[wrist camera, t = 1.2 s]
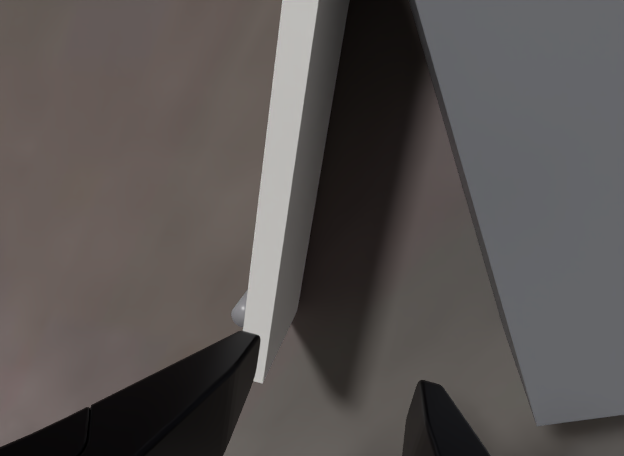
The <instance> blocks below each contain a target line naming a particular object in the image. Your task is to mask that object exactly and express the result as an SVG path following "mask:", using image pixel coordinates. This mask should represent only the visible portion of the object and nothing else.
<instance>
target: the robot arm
mask: <svg viewBox="0 0 624 456" xmlns="http://www.w3.org/2000/svg"><path fill="white" fill-rule="evenodd" d="M260 342H261V339H260V336H259V335H257V334H253V333H249V332H246V331H238V332H236V333H234V334H232V335H230V336H228V337H226V338H224V339H222V340H220V341H218V342H216V343H214V344H212V345H210V346H208V347H206V348H204V349H202V350H200V351H198V352H196V353H194V354H192V355H190V356H188V357H186V358H184V359H182V360H180V361H178V362H176V363H174V364H172V365H170V366H168V367H166V368H164V369H162V370H160V371H158V372H156V373H154V374H152V375H150V376H148V377H146V378H144V379H142V380H140V381H138V382H136V383H134V384H132V385H130V386H128V387H126V388H124V389H122V390H120V391H118V392H116V393H114V394H112V395H110V396H108V397H106V398H104V399H102V400H100V401H98V402H96V403H94V404H92V405H91V408H89V407H86V408H84V409H82V410H80V411H78V412H76V413H74V414H72V415H70V416H68V417H66V418H64V419H62V420H60V421H58V422H55V423H53V424H51V425H49V426H47V427H45V428H43V429H41V430H39V431H36V432H34V433H32V434H30V435H28V436H25V437H23V438H21V439H18V440H16V441H13V442H11V443H9V444H6V445H4V446H2V447H0V456H223V454H224V452H225V450H226V448H227V445H228V443H229V441H230V438H231V436H232V433H233V431H234V428H235V426H236V423H237V421H238V418H239V416H240V413H241V411H242V408H243V406H244V403H245V401H246V398H247V396H248V393H249V391H250V388H251V386H252V383H253V380H254V377H255V373H256V369H257V362H258V356H259V349H260ZM402 456H491V455H490V454H489V453H488V451H487V450H486V448H485V447H484V445H483V444H482V442H481V441H480V440H479V438H478V437H477V435H476V434H475V432H474V431H473V430H472V428H471V427H470V425H469V424H468V422H467V421H466V420H465V418H464V417H463V415H462V414H461V412H460V411H459V409H458V408H457V407H456V405H455V404H454V402H453V401H452V399H451V398H450V397H449V395H448V394H447V392H446V391H445V389H444V388H443V387H442V386H441V385H439V384H436V383H432V382H429V381H425V380H420V381H419V382H418V384H417V386H416V389H415V392H414V395H413V399H412V402H411V405H410V408H409V411H408V415H407V419H406V425H405V435H404V444H403V454H402Z"/></svg>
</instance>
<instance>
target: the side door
mask: <svg viewBox="0 0 624 456" xmlns="http://www.w3.org/2000/svg"><path fill="white" fill-rule="evenodd" d="M349 1H350V0H283V1H282V9H281V18H280V26H279V34H278V43H277V51H276V59H275V68H274V76H273V84H272V93H271V101H270V109H269V118H268V126H267V134H266V143H265V151H264V159H263V168H262V176H261V184H260V193H259V201H258V209H257V218H256V226H255V234H254V243H253V251H252V259H251V268H250V276H249V284H248V290H247V291H246V292H245V294H244V295H243V297H242V298H241V299H240V301H239V302H238V303H237V305H236V306H235V307H234V309H233V310H232V314H231V315H232V319H233V321H234V322H235V323H236V324H237V325H238V326H240V327H243V331H246V332H249V333H253V334H257V335H259V336H260V339H261V342H260V349H259V356H258V362H257V369H256V373H255V377H254V380H253V381H255V382H259V383H262V384H263V382H264V380H265V378H266V376H267V373H268V371H269V369H270V367H271V365H272V363H273V361H274V359H275V357H276V355H277V352H278V350H279V348H280V346H281V344H282V342H283V340H284V338H285V336H286V334H287V331H288V329H289V327H290V325H291V323H292V321H293V319H294V317H295V315H296V312H297V310H298V304H299V298H300V292H301V286H302V280H303V274H304V268H305V262H306V256H307V250H308V244H309V238H310V232H311V226H312V221H313V215H314V209H315V203H316V197H317V191H318V185H319V179H320V173H321V167H322V161H323V155H324V149H325V143H326V137H327V131H328V125H329V119H330V114H331V108H332V102H333V96H334V90H335V84H336V78H337V72H338V66H339V60H340V54H341V48H342V42H343V36H344V30H345V24H346V18H347V12H348V7H349Z"/></svg>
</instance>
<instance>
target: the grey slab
mask: <svg viewBox="0 0 624 456" xmlns="http://www.w3.org/2000/svg"><path fill="white" fill-rule="evenodd" d="M409 3H410V7H411V10H412V14H413V17H414V21H415V24H416V28H417V31H418V34H419V38H420V41H421V45H422V48H423V52H424V55H425V59H426V62H427V66H428V69H429V73H430V76H431V79H432V83H433V86H434V90H435V93H436V97H437V100H438V104H439V107H440V111H441V114H442V117H443V121H444V124H445V128H446V131H447V135H448V138H449V142H450V145H451V149H452V152H453V155H454V159H455V162H456V166H457V169H458V173H459V176H460V180H461V183H462V187H463V190H464V193H465V197H466V200H467V204H468V207H469V211H470V214H471V218H472V221H473V225H474V228H475V231H476V235H477V238H478V242H479V245H480V249H481V252H482V256H483V259H484V263H485V266H486V269H487V273H488V276H489V280H490V283H491V287H492V290H493V294H494V297H495V301H496V304H497V308H498V311H499V314H500V318H501V321H502V325H503V328H504V331H505V334H506V337H507V340H508V343H509V346H510V349H511V352H512V355H513V358H514V361H515V364H516V367H517V369H518V372H519V375H520V378H521V381H522V384H523V387H524V390H525V393H526V396H527V399H528V402H529V405H530V408H531V410H532V413H533V416H534V419H535V422H536V425H537V426H542V425H550V424H557V423H565V422H572V421H580V420H587V419H595V418H602V417H610V416H617V415H624V0H409Z"/></svg>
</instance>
